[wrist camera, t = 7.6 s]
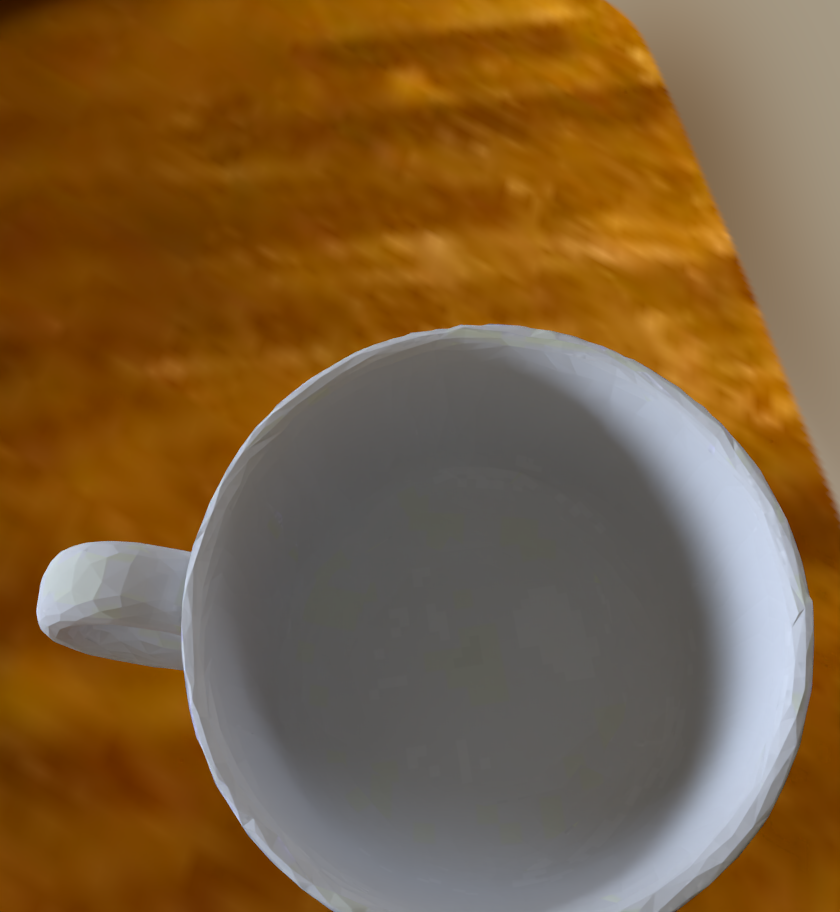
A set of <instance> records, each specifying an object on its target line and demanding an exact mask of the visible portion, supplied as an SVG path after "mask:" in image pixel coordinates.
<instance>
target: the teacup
mask: <svg viewBox="0 0 840 912" xmlns="http://www.w3.org/2000/svg"><path fill="white" fill-rule="evenodd" d="M36 612H37V618H38V623H39V625H40V628H41V630H42V631H43V632H44V633H45V634H46V635H47V636H48V637H49V638H51V639H52V640H53V641H54V642H57V643H59V644H62V645H64V646H67V647H69V648H72V649H74V650H77V651H80V652H83V653H86V654H89V655H94V656H98V657H103V658H108V659H113V660H118V661H124V662H129V663H135V664H140V665H146V666H151V667H160V668H170V669H177V670H184V676H185V684H186V692H187V698H188V704H189V710H190V714H191V718H192V722H193V726H194V729H195V733H196V737H197V739H198V741H199V743H200V745H201V747H202V749H203V751H204V754H205V757H206V760H207V762H208V765H209V768H210V770H211V773H212V776H213V778H214V781H215V784H216V786H217V787H218V789H219V790H220V792H221V794H222V795H223V797H224V798H225V800H226V801H227V803H228V805H229V806H230V808H231V809H232V811H233V812H234V814H235V816H236V817H237V819H238V820H239V822H240V823H241V825H242V826H243V828H244V830H245V831H246V833H247V834H248V836H249V837H250V838H251V839H252V840H253V841H254V843H255V844H256V845H257V846H258V847H259V848H260V849H261V850H262V851H263V853H264V854H265V855H266V856H267V857H268V858H269V859H270V860H271V861H272V862H273V863H274V864H275V865H276V866H277V867H278V868H279V869H280V870H281V871H282V872H283V873H285V874H286V875H287V876H288V877H289V878H290V879H291V880H292V881H294V882H295V883H296V884H297V885H298V886H299V887H300V888H302V889H303V890H304V891H305V892H307V893H308V894H309V895H311V896H312V897H314V898H315V899H316V900H318V901H319V902H321V903H322V904H323V905H325V906H326V907H328V908H329V909H330V910H332V911H334V912H676V911H677V910H678V909H680V908H681V907H682V906H683V905H685V904H686V903H687V902H689V901H690V900H691V899H692V898H694V897H695V896H696V895H697V894H699V893H700V892H701V891H702V890H704V889H705V888H706V887H707V886H709V885H710V884H711V883H712V882H713V881H714V880H715V879H716V878H717V877H718V876H719V875H720V874H721V873H722V872H723V871H724V870H725V869H726V868H727V867H728V866H729V865H730V864H731V863H732V862H733V861H735V860H736V859H737V858H738V857H739V855H740V854H741V853H742V852H743V850H744V849H745V848H746V846H747V845H748V844H749V843H750V841H751V840H752V839H753V837H754V836H755V835H756V834H757V832H758V831H759V830H760V828H761V827H762V826H763V824H764V823H765V821H766V820H767V818H768V817H769V815H770V813H771V811H772V809H773V807H774V805H775V803H776V801H777V799H778V797H779V795H780V793H781V791H782V789H783V787H784V785H785V782H786V779H787V777H788V774H789V772H790V769H791V767H792V764H793V761H794V759H795V756H796V754H797V751H798V749H799V746H800V743H801V738H802V733H803V727H804V722H805V717H806V712H807V708H808V703H809V699H810V695H811V690H812V677H813V656H814V620H813V601H812V600H811V598H810V596H809V591H808V587H807V582H806V577H805V573H804V568H803V564H802V560H801V557H800V554H799V551H798V548H797V545H796V542H795V540H794V537H793V534H792V531H791V529H790V526H789V524H788V521H787V519H786V517H785V515H784V513H783V511H782V509H781V507H780V506H779V504H778V502H777V500H776V498H775V496H774V494H773V492H772V491H771V489H770V487H769V485H768V483H767V482H766V480H765V478H764V476H763V474H762V473H761V471H760V469H759V468H758V467H757V465H756V464H755V463H754V461H753V460H752V459H751V458H750V456H749V455H748V454H747V453H746V451H745V450H744V449H743V447H742V446H741V445H740V444H739V443H738V442H737V441H736V440H735V439H734V438H733V437H732V435H731V434H730V433H729V432H728V431H727V430H726V428H725V427H724V426H723V425H722V424H721V423H720V422H719V421H718V420H717V419H715V418H714V417H713V416H712V415H711V414H710V413H709V412H708V411H707V410H706V409H705V407H703V406H702V405H700V404H699V403H697V402H696V401H694V400H693V399H692V398H691V397H689V396H688V395H687V394H686V393H685V392H684V391H682V390H681V389H680V388H679V387H677V386H676V385H674V384H672V383H671V382H669V381H668V380H666V379H665V378H663V377H661V376H660V375H658V374H657V373H655V372H654V371H652V370H651V369H649V368H647V367H645V366H644V365H642V364H640V363H638V362H637V361H635V360H633V359H630V358H627V357H624V356H623V355H621V354H619V353H617V352H615V351H612V350H610V349H608V348H605V347H603V346H600V345H597V344H594V343H590V342H587V341H585V340H582V339H580V338H577V337H575V336H570V335H566V334H562V333H558V332H554V331H548V330H538V329H533V328H528V327H522V326H512V325H500V324H487V325H483V326H473V325H459V326H456V327H453V328H450V329H436V330H433V331H426V332H415V333H410V334H408V335H406V336H403V337H399V338H394V339H391V340H388V341H385V342H381V343H378V344H375V345H372V346H370V347H367V348H365V349H363V350H360V351H358V352H355V353H353V354H351V355H350V356H348V357H346V358H344V359H343V360H341V361H339V362H338V363H336V364H334V365H333V366H331V367H329V368H327V369H326V370H324V371H322V372H321V373H319V374H317V375H316V376H314V377H312V378H311V379H309V380H308V381H307V382H305V383H304V384H303V385H301V386H300V387H299V388H297V389H296V390H295V391H294V392H292V393H291V394H290V395H289V396H287V397H286V398H285V399H284V400H283V401H281V402H280V403H279V404H278V405H277V406H276V407H275V408H274V409H273V411H272V412H271V413H270V414H269V415H268V416H267V417H266V418H265V419H264V420H263V421H262V422H261V423H260V424H259V425H258V426H256V428H255V429H254V430H253V432H252V433H251V434H250V436H249V437H248V438H247V440H246V441H245V443H244V444H243V445H242V447H241V448H240V449H239V451H238V452H237V454H236V456H235V457H234V459H233V461H232V462H231V464H230V465H229V467H228V469H227V471H226V473H225V474H224V476H223V478H222V480H221V482H220V484H219V486H218V488H217V490H216V491H215V493H214V495H213V497H212V499H211V501H210V504H209V506H208V509H207V511H206V514H205V517H204V519H203V522H202V524H201V527H200V529H199V532H198V534H197V537H196V539H195V542H194V544H193V548H192V552H188V551H183V550H178V549H172V548H166V547H160V546H154V545H148V544H142V543H136V542H117V541H102V542H89V543H84V544H80V545H76V546H73V547H70V548H68V549H66V550H63V551H61V552H60V553H59V554H58V555H57V556H56V557H55V558H54V559H53V560H52V561H51V562H50V564H49V566H48V568H47V570H46V571H45V573H44V575H43V578H42V581H41V585H40V591H39V597H38V603H37V609H36Z"/></svg>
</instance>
